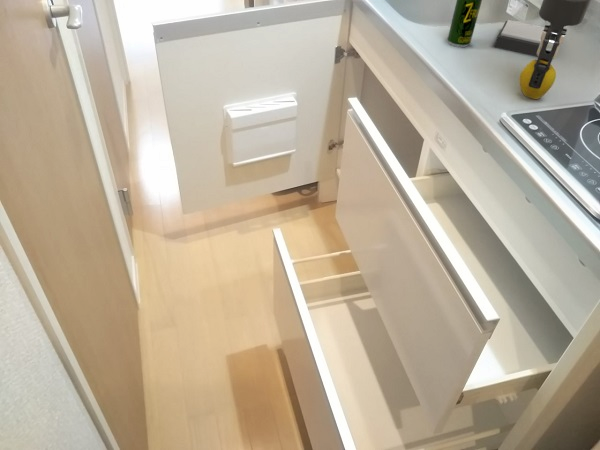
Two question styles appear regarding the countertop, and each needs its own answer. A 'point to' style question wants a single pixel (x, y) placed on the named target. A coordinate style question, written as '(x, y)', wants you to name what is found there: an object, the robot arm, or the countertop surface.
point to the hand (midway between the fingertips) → (536, 79)
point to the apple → (545, 85)
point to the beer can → (463, 22)
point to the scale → (520, 37)
